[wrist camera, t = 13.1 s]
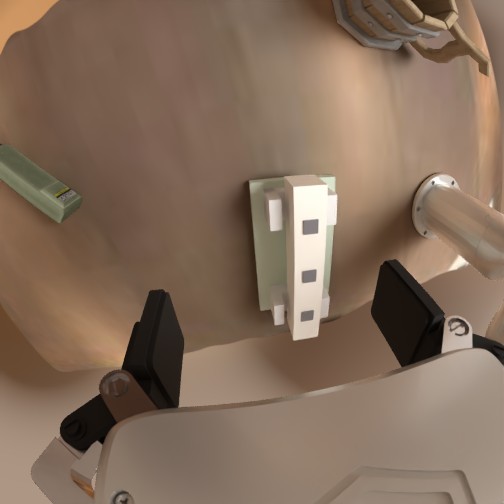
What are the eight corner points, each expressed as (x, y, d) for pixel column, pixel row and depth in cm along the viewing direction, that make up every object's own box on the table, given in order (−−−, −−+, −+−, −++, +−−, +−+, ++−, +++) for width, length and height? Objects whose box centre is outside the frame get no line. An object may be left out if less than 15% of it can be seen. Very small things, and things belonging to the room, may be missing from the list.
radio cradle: (331, 174, 38) (349, 186, 32) (325, 295, 49) (336, 319, 43) (248, 180, 37) (253, 193, 32) (259, 305, 48) (264, 331, 42)
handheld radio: (77, 212, 36) (-13, 144, 27) (85, 194, 36) (-7, 127, 26) (58, 228, 31) (-36, 151, 21) (65, 209, 30) (-31, 133, 20)
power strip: (314, 174, 34) (328, 185, 30) (309, 315, 46) (318, 337, 41) (283, 176, 34) (293, 187, 29) (287, 319, 46) (293, 341, 41)
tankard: (315, 7, 25) (363, -35, 12) (359, -30, 21) (410, -65, 8) (410, 98, 32) (480, 106, 19) (442, 56, 28) (506, 55, 15)
